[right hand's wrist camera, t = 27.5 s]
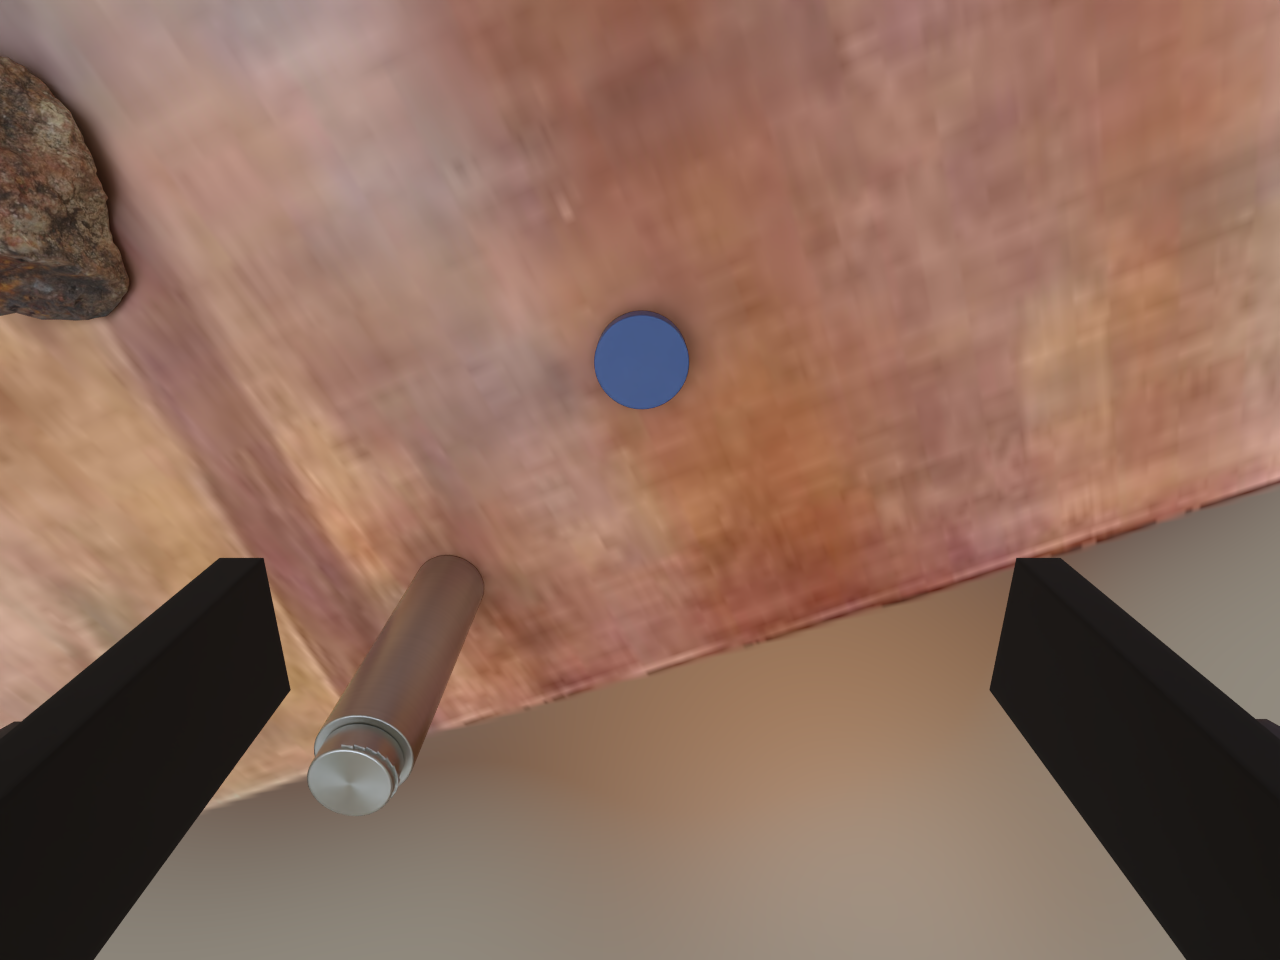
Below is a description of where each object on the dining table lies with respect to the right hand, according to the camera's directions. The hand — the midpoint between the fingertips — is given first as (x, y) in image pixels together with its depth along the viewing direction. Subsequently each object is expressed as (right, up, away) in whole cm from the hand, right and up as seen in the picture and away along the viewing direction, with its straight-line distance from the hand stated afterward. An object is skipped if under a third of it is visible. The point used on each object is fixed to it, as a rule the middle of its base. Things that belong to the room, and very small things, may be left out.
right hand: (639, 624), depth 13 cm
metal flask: (-11, -4, +29) cm, 32 cm away
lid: (0, +9, +23) cm, 25 cm away
